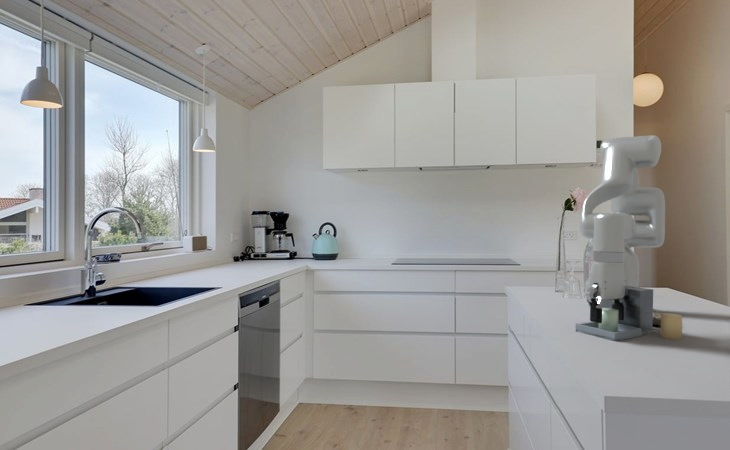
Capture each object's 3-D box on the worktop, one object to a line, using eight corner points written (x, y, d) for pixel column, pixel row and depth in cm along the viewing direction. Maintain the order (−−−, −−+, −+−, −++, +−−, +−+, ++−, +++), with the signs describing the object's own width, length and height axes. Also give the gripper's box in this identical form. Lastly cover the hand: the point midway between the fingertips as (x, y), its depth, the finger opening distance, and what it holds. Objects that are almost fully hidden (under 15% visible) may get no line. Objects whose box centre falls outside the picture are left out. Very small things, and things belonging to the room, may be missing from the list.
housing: (609, 321, 141) (609, 282, 141) (655, 332, 129) (656, 289, 128) (593, 324, 137) (593, 284, 137) (639, 335, 125) (640, 291, 125)
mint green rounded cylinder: (605, 328, 130) (606, 307, 130) (621, 332, 126) (622, 310, 125) (594, 330, 128) (595, 308, 127) (610, 334, 123) (611, 311, 123)
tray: (602, 326, 134) (602, 319, 134) (641, 336, 124) (641, 328, 124) (575, 330, 129) (575, 323, 129) (614, 340, 119) (614, 333, 119)
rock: (671, 331, 131) (671, 316, 131) (627, 324, 138) (628, 310, 138) (677, 325, 139) (678, 311, 139) (636, 319, 146) (636, 306, 146)
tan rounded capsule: (666, 334, 127) (667, 312, 126) (685, 338, 122) (686, 316, 122) (656, 336, 124) (657, 314, 124) (675, 340, 120) (675, 317, 120)
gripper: (615, 256, 133) (614, 315, 134) (575, 257, 125) (574, 320, 125) (641, 258, 127) (639, 320, 127) (600, 260, 119) (599, 326, 119)
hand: (607, 320), depth 126 cm, fingers open, 8 cm apart
